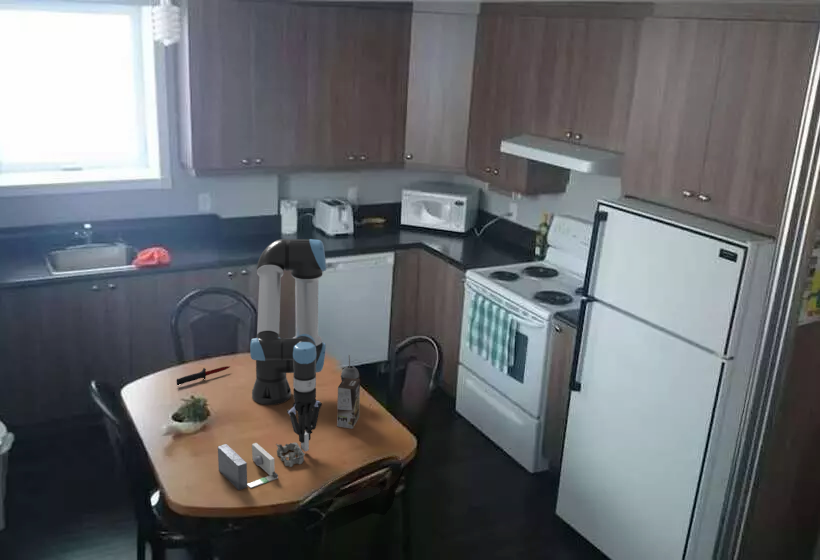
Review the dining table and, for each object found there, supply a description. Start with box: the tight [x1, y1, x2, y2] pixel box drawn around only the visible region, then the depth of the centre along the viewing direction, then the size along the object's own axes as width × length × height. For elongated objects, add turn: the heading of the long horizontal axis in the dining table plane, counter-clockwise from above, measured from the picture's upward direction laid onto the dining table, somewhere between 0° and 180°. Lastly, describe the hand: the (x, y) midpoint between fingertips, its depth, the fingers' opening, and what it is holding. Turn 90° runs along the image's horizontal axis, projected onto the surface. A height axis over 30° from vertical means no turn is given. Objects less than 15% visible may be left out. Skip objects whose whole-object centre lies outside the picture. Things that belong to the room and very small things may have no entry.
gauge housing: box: [217, 443, 279, 491], centre depth 257 cm, size 15×14×9 cm
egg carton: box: [275, 442, 306, 468], centre depth 269 cm, size 11×8×4 cm
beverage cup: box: [340, 354, 360, 381], centre depth 305 cm, size 7×7×20 cm
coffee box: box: [336, 378, 361, 430], centre depth 292 cm, size 9×6×16 cm
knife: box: [176, 366, 231, 386], centre depth 321 cm, size 24×2×5 cm, turn 132°
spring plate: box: [251, 442, 279, 478], centre depth 261 cm, size 14×3×6 cm, turn 40°
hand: (304, 449), depth 272 cm, fingers closed
